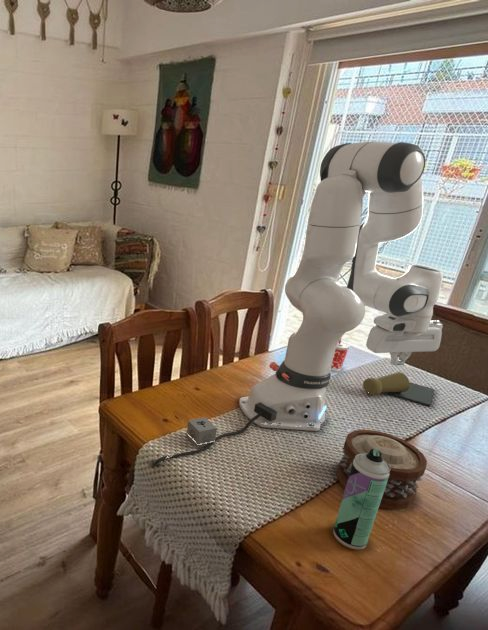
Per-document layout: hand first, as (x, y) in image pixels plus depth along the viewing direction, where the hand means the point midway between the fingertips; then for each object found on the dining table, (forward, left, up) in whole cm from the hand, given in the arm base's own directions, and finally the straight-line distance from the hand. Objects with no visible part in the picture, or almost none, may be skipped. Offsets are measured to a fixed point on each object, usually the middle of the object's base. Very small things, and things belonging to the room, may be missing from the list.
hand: (396, 364), depth 130 cm
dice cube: (-66, -19, -10) cm, 69 cm away
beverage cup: (-7, +16, -10) cm, 20 cm away
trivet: (+6, 0, -10) cm, 11 cm away
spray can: (-48, -50, -10) cm, 70 cm away
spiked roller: (-33, -37, -10) cm, 50 cm away
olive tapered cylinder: (+3, 0, -6) cm, 7 cm away
